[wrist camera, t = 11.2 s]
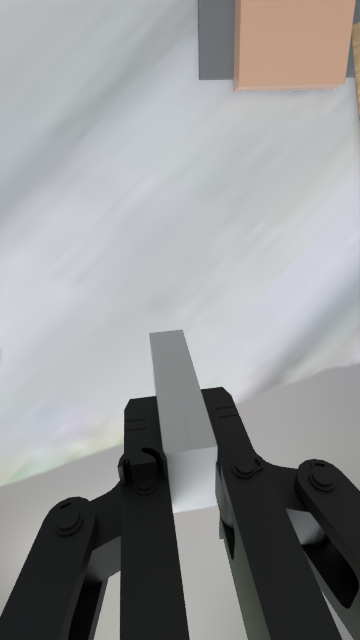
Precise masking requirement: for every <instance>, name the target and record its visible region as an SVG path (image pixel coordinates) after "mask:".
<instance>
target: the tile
mask: <svg viewBox="0 0 360 640" xmlns="http://www.w3.org/2000/svg"><path fill="white" fill-rule="evenodd" d="M355 2H356V0H235V20H234V76H233V92H241V91H278V90H315V89H334V88H337V87H339V86H341V85H343V84H345V77H346V70H347V62H348V55H349V47H350V40H351V32H352V24H353V17H354V9H355Z"/></svg>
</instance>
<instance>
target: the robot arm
mask: <svg viewBox="0 0 360 640" xmlns="http://www.w3.org/2000/svg"><path fill="white" fill-rule="evenodd" d="M149 336H150V346H151V357H152V367H153V378H154V387H155V396H152V397H144V398H136V399H130V400H129V402H128V404H127V406H126V408H125V409H124V454H123V455H122V457H121V458H120V460H119V464H118V472H119V477H120V481H119V482H118V484H117V485H116V486H115V487H114V488H113V489H112V490H111V491H109V492H107V493H106V494H104V495H102V496H100V497H98V498H96V499H94V500H92V501H88V500H87V499H85V498H81V497H71V498H67V499H65V500H63V501H61V502H59V503H58V504H56V505H55V506H54V507H53V508H52V509H51V510H50V511H49V513H48V514H47V516H46V517H45V519H44V521H43V523H42V525H41V528H40V530H39V532H38V534H37V537H36V539H35V541H34V543H33V545H32V548H31V550H30V552H29V554H28V557H27V559H26V561H25V563H24V565H23V568H22V570H21V572H20V574H19V577H18V579H17V581H16V583H15V586H14V588H13V590H12V592H11V594H10V597H9V599H8V601H7V603H6V605H5V608H4V610H3V613H2V614H1V617H0V640H93V639H94V635H95V631H96V627H97V623H98V619H99V615H100V611H101V607H102V602H103V598H104V594H105V590H106V586H107V582H108V578H109V577H110V576H112V575H114V574H115V573H117V572H119V571H121V578H120V640H190V639H189V631H188V624H187V616H186V608H185V601H184V593H183V585H182V578H181V570H180V563H179V555H178V547H177V540H176V533H175V524H174V516H173V513H177V512H183V511H189V510H195V509H201V508H207V507H213V506H216V499H217V503H218V507H219V511H220V523H219V525H220V526H219V537H220V539H224V543H225V547H226V551H227V555H228V559H229V564H230V568H231V572H232V576H233V580H234V584H235V588H236V592H237V596H238V601H239V604H240V609H241V612H242V617H243V621H244V625H245V629H246V633H247V637H248V640H342V638H341V636H340V633H339V631H338V629H337V626H336V624H335V622H334V619H333V617H332V615H331V612H330V610H329V608H328V605H327V603H326V601H325V599H324V596H323V594H322V592H323V593H324V595H325V596H326V598H327V599H328V601H329V602H330V604H331V605H332V607H333V608H334V610H335V612H336V613H337V615H338V616H339V618H340V619H341V621H342V622H343V624H344V625H345V627H346V628H347V630H348V631H349V633H350V634H351V636H352V638H353V639H354V640H360V491H359V490H358V489H357V488H356V487H355V486H354V484H352V482H351V481H350V480H349V479H348V478H347V477H346V476H345V475H344V474H343V473H342V472H341V471H340V470H339V469H338V468H336V467H335V466H334V465H332V464H330V463H328V462H326V461H323V460H317V459H311V460H306V461H304V462H303V463H302V464H300V465H299V468H298V469H294V468H287V467H280V466H276V465H272V464H270V463H268V462H266V461H265V460H263V459H262V457H260V456H259V455H257V453H256V452H255V450H254V449H253V447H252V444H251V442H250V440H249V437H248V435H247V432H246V430H245V427H244V425H243V423H242V420H241V418H240V416H239V413H238V411H237V408H236V407H235V403H234V401H233V399H232V396H231V395H230V394H229V393H228V392H227V391H226V390H225V389H224V388H223V387H217V388H209V389H201V390H200V386H199V383H198V380H197V376H196V373H195V370H194V367H193V363H192V360H191V357H190V353H189V350H188V347H187V343H186V340H185V337H184V333H183V330H175V331H166V332H156V333H149ZM321 590H322V592H321Z"/></svg>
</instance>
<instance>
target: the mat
mask: <svg viewBox="0 0 360 640" xmlns="http://www.w3.org/2000/svg"><path fill="white" fill-rule="evenodd" d="M234 20H235V0H198V40H199V80H225V79H233V76H234ZM359 22H360V0H356V2H355V9H354V17H353V24H352V25H354V24H357V23H359ZM346 77H356V75H355V65H354V55H353V45H352V35H351V40H350V47H349V55H348V62H347V70H346Z"/></svg>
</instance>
